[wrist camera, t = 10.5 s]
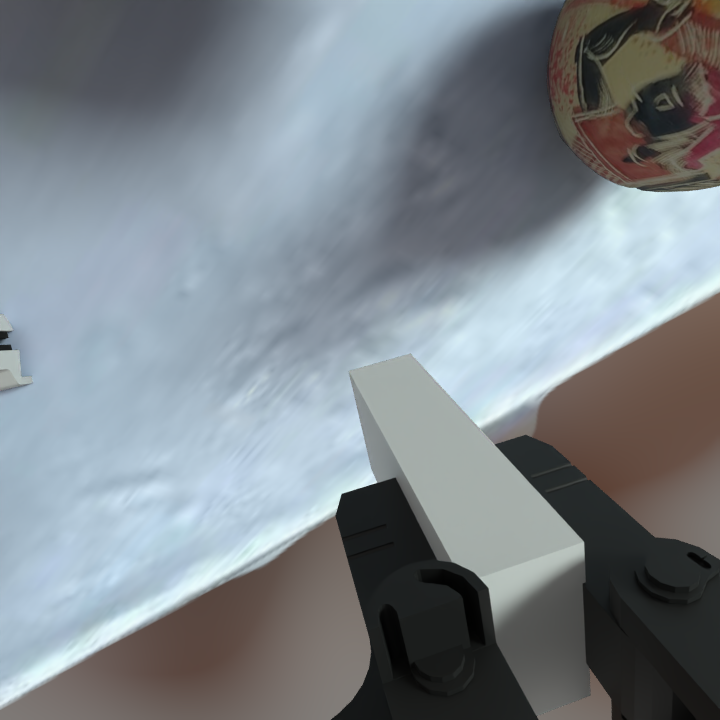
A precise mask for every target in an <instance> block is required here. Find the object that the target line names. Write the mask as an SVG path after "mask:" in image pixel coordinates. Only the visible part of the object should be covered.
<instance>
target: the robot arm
mask: <svg viewBox="0 0 720 720" xmlns="http://www.w3.org/2000/svg"><path fill="white" fill-rule="evenodd" d="M349 375H350V379H351V383H352V387H353V392H354V396H355V400H356V405H357V409H358V413H359V418H360V422H361V426H362V430H363V435H364V439H365V443H366V448H367V452H368V456H369V461H370V465H371V469H372V471H373V474H374V476H375V478H376V480H377V483H376V484H372V485H369V486H366V487H363V488H360V489H356V490H353V491H350V492H347V493H343V494H342V495H341V499H340V502H339V506H338V509H337V513H336V519H337V523H338V526H339V530H340V533H341V537H342V541H343V545H344V548H345V552H346V556H347V559H348V563H349V566H350V570H351V573H352V577H353V581H354V584H355V588H356V592H357V595H358V598H359V602H360V606H361V609H362V613H363V617H364V620H365V624H366V627H367V631H368V634H369V638H370V645H371V658H370V666H369V670H368V672H367V675H366V678H365V680H364V683H363V685H362V686H361V688H360V689H359V691H358V693H357V694H356V696H355V697H354V698H353V700H352V701H351V702H350V703H349V704H348V705H347V706H346V707H345V708H344V709H343V710H342V711H341V712H340V713H339V714H338V715H336V716H335V717H334V718H332V719H331V720H538V718H537V716H538V715H541V714H544V713H546V712H548V711H551V710H554V709H556V708H559V707H562V706H564V705H567V704H569V703H572V702H575V701H577V700H580V699H582V698H585V697H587V696H590V673H589V672H590V671H589V668H590V669H591V670H592V672H593V673H594V675H595V676H596V678H597V679H598V680H599V682H600V683H601V685H602V686H603V687H604V689H605V690H606V692H607V693H608V695H609V696H610V698H611V702H612V720H720V560H719V559H718V558H716V557H714V556H713V555H711V554H709V553H708V552H706V551H705V550H703V549H701V548H700V547H696V546H694V545H691V544H688V543H685V542H681V541H679V540H676V539H665V538H655V537H654V536H653V535H651V534H650V533H649V532H648V531H647V530H646V529H645V528H644V527H642V526H641V525H640V524H639V523H638V522H637V521H635V519H633V518H632V517H631V516H630V515H629V514H628V513H627V512H626V511H624V510H623V509H622V508H621V507H620V506H619V505H618V504H617V503H615V502H614V501H613V500H612V499H611V498H610V497H609V496H608V495H606V494H605V493H604V492H603V491H602V490H601V489H600V488H599V487H597V486H596V485H595V484H594V483H593V482H592V481H591V480H587V478H586V476H585V475H584V474H583V473H582V472H580V470H578V469H577V468H576V467H575V466H571V463H570V462H569V461H568V460H567V459H566V458H565V457H564V456H563V455H562V454H560V453H559V452H558V451H557V450H556V449H555V448H554V447H553V446H551V445H549V444H546V443H544V442H541V441H539V440H537V439H534V438H532V437H529V436H527V435H524V436H521V437H517V438H514V439H511V440H508V441H505V442H501V443H498V444H495V445H494V444H493V443H492V441H491V440H490V439H489V438H488V437H487V436H486V435H485V434H484V433H483V432H482V431H481V430H480V428H479V427H478V426H477V425H476V424H475V423H474V422H473V421H472V420H471V419H470V418H469V416H468V415H467V414H466V413H465V412H464V411H463V410H462V409H461V408H460V407H459V406H458V405H457V403H456V402H455V401H454V400H453V399H452V398H451V397H450V396H449V395H448V394H447V393H446V392H445V390H444V389H443V388H442V387H441V386H440V385H439V384H438V383H437V382H436V381H435V380H434V379H433V377H432V376H431V375H430V374H429V373H428V372H427V371H426V370H425V369H424V368H423V367H422V366H421V364H420V363H419V362H418V361H417V360H416V359H415V358H414V357H413V356H412V355H411V354H408V355H404V356H400V357H397V358H393V359H390V360H386V361H383V362H379V363H375V364H372V365H368V366H365V367H361V368H358V369H354V370H350V371H349Z"/></svg>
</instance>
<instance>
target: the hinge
mask: <svg viewBox="0 0 720 720" xmlns="http://www.w3.org/2000/svg"><path fill="white" fill-rule="evenodd" d="M11 331H14V330H13V328H12V326H11V324H10V323H9V321H8V320H7V318H6V317H5V316H4V314H0V340H2V339H6V338H8V334H7V332H11ZM31 383H33V380H32V376H26V377H21V365H20V353H19V350H12V348H11V345H0V391H2V390H7V389H11V388H15V387H19V386H23V385H27V384H31Z"/></svg>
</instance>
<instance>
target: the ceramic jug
mask: <svg viewBox="0 0 720 720" xmlns="http://www.w3.org/2000/svg"><path fill="white" fill-rule="evenodd" d="M547 89H548V95H549V101H550V106H551V111H552V115H553V117H554V120H555V123H556V126H557V129H558V132H559V134H560V137H561V138H562V140H563V141H564V142H565V143H566V144H567V145H568V147H569V148H570V149H571V150H572V151H573V152H574V153H575V155H576V156H577V157H578V158H579V159H581V160H582V161H583V163H584V164H585V165H586V166H588V167H589V168H591V169H592V170H593V171H595V172H596V173H597V174H598V175H600V176H602V177H604V178H605V179H607V180H609V181H611V182H613V183H616V184H618V185H621V186H625V187H629V188H637V189H640V190H643V191H654V192H675V191H692V190H700V189H706V188H712V187H716V186H720V0H566V1H565V3H564V5H563V7H562V9H561V11H560V13H559V15H558V18H557V21H556V25H555V28H554V31H553V34H552V39H551V45H550V51H549V57H548V65H547Z"/></svg>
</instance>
